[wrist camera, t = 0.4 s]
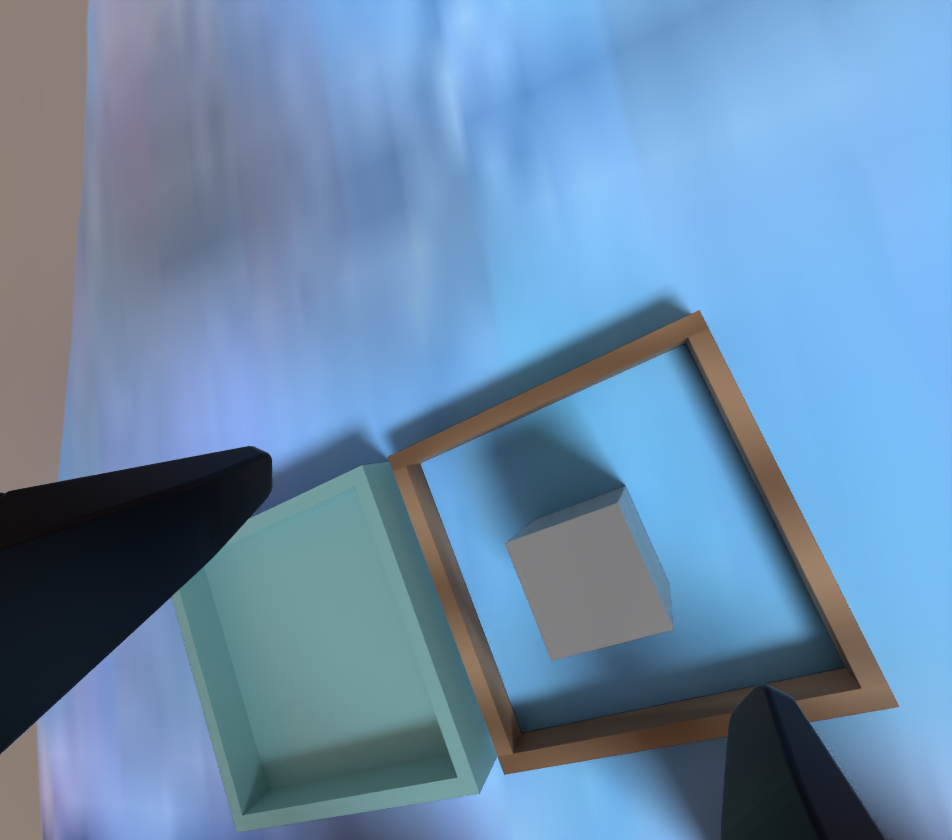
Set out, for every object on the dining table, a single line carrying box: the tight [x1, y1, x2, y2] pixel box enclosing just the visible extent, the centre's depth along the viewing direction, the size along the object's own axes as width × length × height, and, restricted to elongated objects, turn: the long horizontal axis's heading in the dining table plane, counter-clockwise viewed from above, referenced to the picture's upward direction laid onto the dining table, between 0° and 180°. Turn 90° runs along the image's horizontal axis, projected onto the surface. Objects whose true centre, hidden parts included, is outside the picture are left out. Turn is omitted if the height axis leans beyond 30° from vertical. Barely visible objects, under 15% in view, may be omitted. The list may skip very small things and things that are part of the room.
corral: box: [388, 310, 899, 775], centre depth 20 cm, size 16×16×2 cm
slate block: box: [505, 486, 674, 661], centre depth 19 cm, size 4×4×5 cm
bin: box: [171, 461, 497, 832], centre depth 25 cm, size 16×16×2 cm
